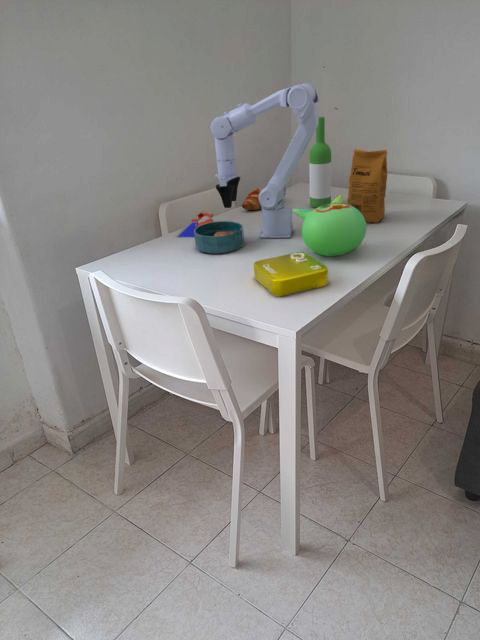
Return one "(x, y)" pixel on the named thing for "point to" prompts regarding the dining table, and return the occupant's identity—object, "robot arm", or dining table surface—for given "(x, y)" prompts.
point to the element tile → (290, 273)
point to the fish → (197, 224)
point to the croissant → (252, 200)
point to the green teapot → (332, 228)
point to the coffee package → (368, 184)
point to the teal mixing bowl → (219, 237)
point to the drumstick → (223, 233)
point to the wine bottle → (320, 168)
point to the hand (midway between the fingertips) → (230, 204)
